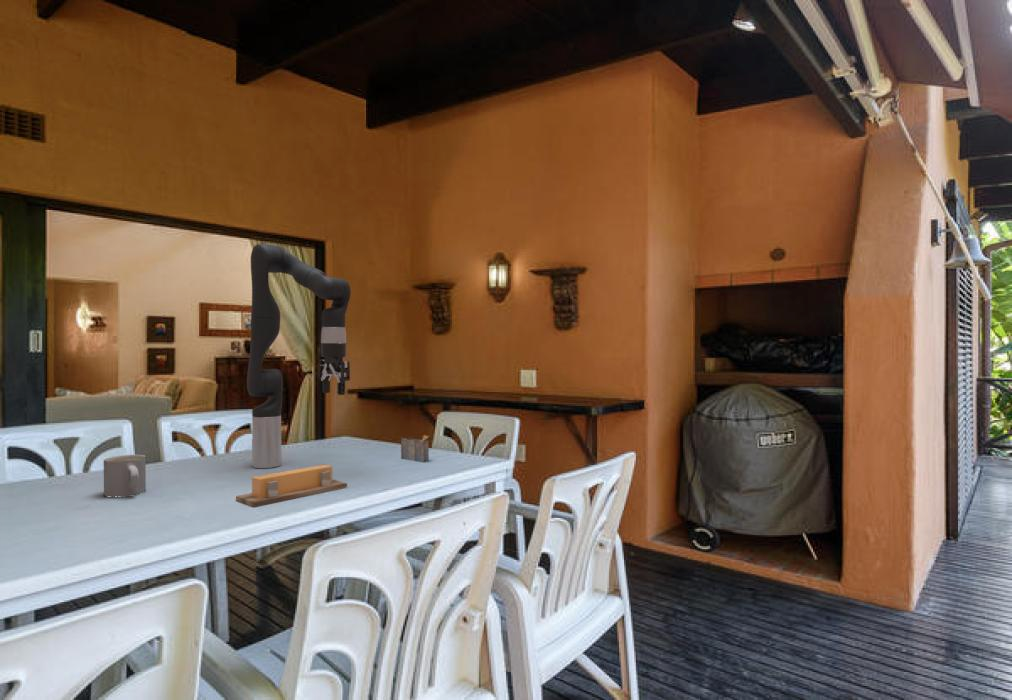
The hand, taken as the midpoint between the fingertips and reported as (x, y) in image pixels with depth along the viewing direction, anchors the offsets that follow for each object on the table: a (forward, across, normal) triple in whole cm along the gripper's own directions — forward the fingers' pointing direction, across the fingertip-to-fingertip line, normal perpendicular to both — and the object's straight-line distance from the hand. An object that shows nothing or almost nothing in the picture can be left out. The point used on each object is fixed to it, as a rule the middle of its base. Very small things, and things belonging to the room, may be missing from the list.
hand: (333, 393), depth 188 cm
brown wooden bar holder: (+26, +9, -18) cm, 33 cm away
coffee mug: (+27, -25, -50) cm, 62 cm away
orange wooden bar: (+25, +9, -18) cm, 32 cm away
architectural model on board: (+27, -4, +35) cm, 45 cm away
